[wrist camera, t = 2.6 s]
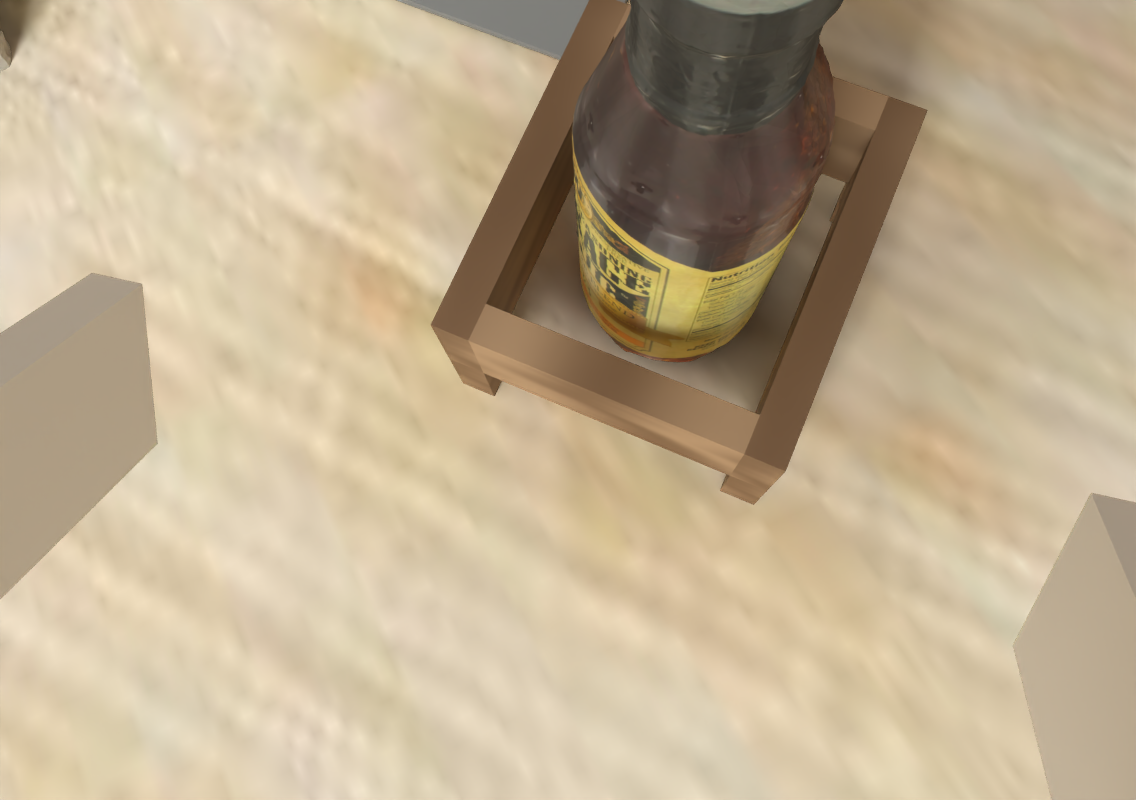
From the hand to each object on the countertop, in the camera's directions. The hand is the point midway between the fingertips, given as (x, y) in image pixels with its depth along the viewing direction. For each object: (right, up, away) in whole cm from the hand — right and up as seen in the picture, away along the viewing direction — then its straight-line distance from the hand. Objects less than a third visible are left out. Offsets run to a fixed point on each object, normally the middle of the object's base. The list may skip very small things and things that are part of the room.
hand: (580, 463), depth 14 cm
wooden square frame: (+3, +5, +22) cm, 22 cm away
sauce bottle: (+3, +5, +22) cm, 23 cm away
